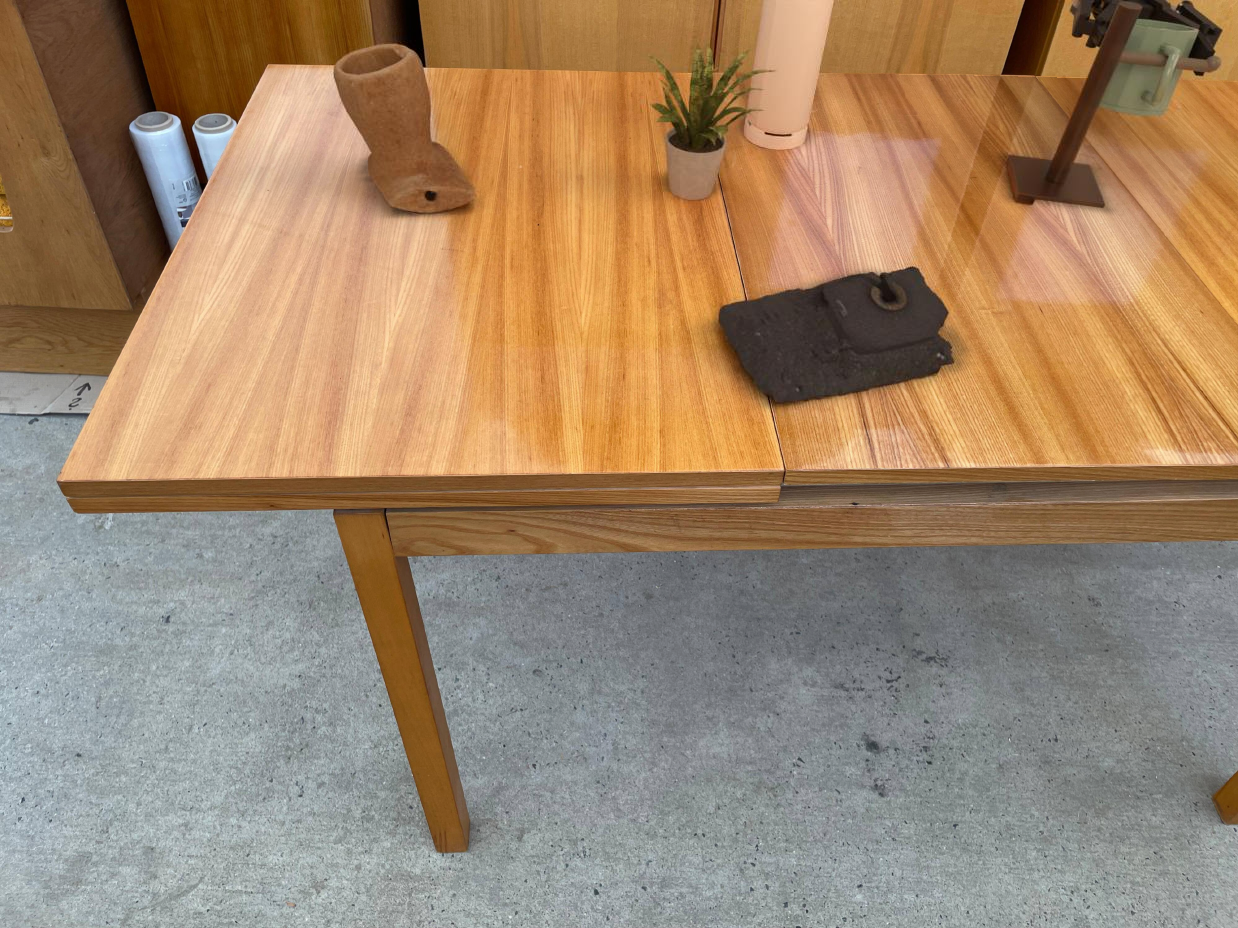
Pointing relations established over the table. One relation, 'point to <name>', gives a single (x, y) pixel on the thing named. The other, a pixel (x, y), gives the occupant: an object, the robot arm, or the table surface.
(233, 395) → the table surface
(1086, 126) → the mug stand
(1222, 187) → the table surface
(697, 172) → the house plant
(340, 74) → the brown clay vessel
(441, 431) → the table surface
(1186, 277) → the table surface
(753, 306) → the dark brown flat slab
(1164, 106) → the mug
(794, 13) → the bottle
